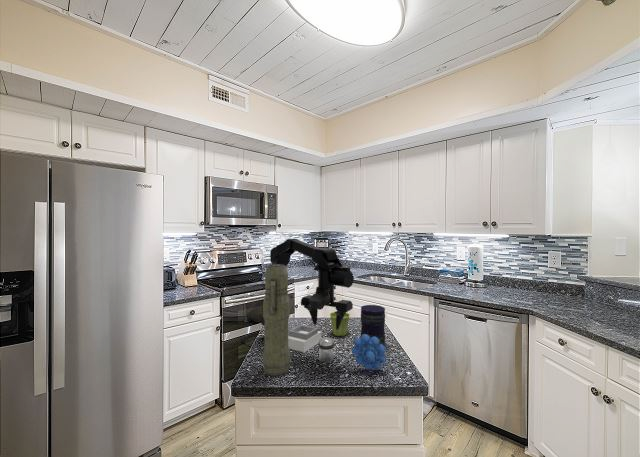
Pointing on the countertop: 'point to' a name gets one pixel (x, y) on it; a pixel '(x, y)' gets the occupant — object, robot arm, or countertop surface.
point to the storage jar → (373, 322)
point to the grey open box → (303, 338)
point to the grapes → (369, 352)
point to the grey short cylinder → (326, 349)
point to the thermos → (276, 321)
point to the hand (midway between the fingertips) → (326, 326)
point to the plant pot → (343, 325)
